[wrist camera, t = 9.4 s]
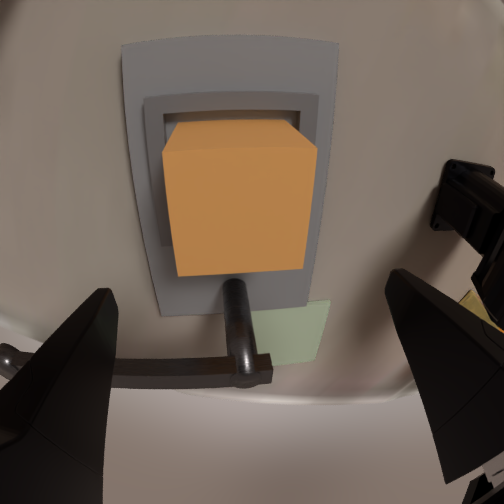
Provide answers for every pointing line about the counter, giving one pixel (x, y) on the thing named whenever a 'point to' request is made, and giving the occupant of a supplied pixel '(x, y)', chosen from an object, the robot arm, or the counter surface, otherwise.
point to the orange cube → (238, 195)
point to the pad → (290, 332)
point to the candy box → (477, 307)
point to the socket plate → (224, 108)
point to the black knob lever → (187, 369)
